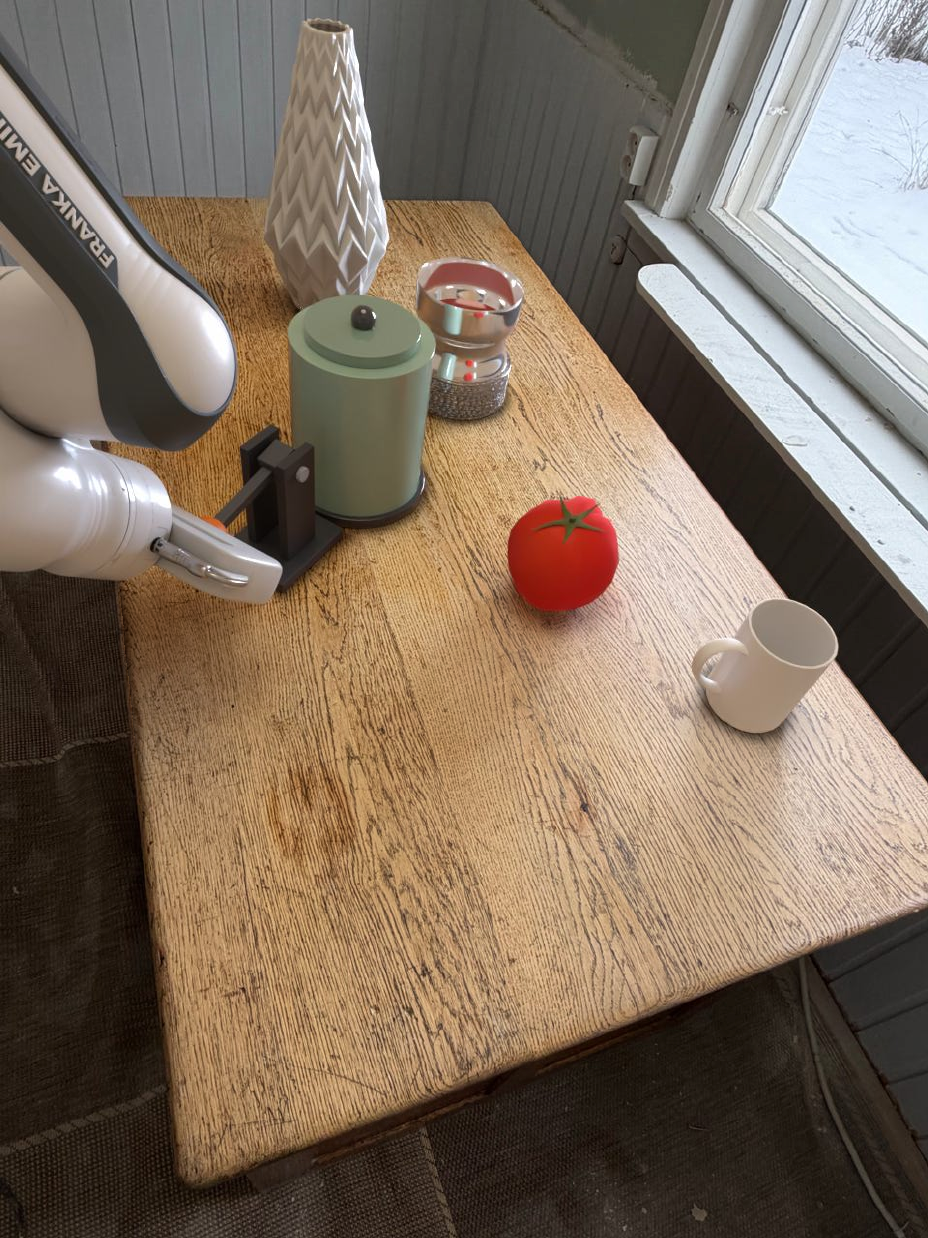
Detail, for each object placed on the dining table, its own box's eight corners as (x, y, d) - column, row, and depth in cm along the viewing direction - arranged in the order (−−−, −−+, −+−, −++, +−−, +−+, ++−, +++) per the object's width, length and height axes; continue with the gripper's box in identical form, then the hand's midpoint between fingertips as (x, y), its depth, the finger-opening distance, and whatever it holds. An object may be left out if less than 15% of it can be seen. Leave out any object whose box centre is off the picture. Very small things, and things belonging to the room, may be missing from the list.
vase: (358, 348, 105) (369, 61, 80) (245, 314, 107) (222, 22, 82) (402, 295, 116) (423, 27, 91) (299, 264, 117) (293, -7, 92)
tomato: (619, 571, 84) (650, 500, 76) (579, 650, 76) (608, 579, 69) (526, 530, 86) (546, 457, 79) (478, 602, 78) (495, 529, 71)
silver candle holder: (416, 421, 96) (428, 311, 85) (391, 341, 107) (399, 234, 96) (515, 419, 100) (539, 312, 88) (481, 341, 110) (499, 238, 99)
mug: (761, 663, 78) (810, 594, 70) (798, 729, 74) (855, 664, 66) (651, 674, 76) (690, 604, 68) (683, 745, 71) (728, 678, 63)
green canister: (374, 549, 81) (386, 372, 65) (258, 488, 85) (243, 306, 69) (448, 475, 90) (474, 305, 75) (341, 423, 94) (344, 250, 78)
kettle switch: (214, 572, 67) (203, 549, 64) (182, 554, 68) (170, 530, 65) (306, 472, 73) (300, 446, 70) (275, 457, 74) (268, 430, 71)
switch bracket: (283, 593, 76) (277, 493, 66) (218, 557, 78) (203, 454, 68) (343, 536, 82) (346, 437, 72) (282, 504, 84) (277, 403, 74)
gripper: (239, 540, 52) (327, 558, 66) (17, 419, 57) (141, 459, 70) (201, 624, 53) (295, 624, 66) (-15, 497, 58) (114, 522, 71)
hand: (215, 538), depth 68 cm, fingers closed on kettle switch, 3 cm apart
